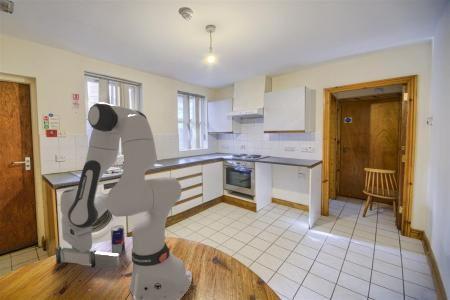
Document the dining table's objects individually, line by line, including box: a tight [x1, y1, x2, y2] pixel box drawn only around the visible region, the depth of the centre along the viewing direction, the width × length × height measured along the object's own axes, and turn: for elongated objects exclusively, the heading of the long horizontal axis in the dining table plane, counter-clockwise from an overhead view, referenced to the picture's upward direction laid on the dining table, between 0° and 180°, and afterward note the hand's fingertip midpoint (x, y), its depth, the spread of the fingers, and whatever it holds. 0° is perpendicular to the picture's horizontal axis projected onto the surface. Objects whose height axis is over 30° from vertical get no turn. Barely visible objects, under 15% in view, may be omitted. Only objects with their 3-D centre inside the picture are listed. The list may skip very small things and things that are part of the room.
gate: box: [60, 247, 93, 266], centre depth 86 cm, size 13×2×5 cm, turn 81°
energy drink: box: [110, 224, 126, 256], centre depth 94 cm, size 5×5×12 cm
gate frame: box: [54, 246, 120, 271], centre depth 85 cm, size 29×2×6 cm, turn 81°
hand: (77, 254), depth 90 cm, fingers closed
